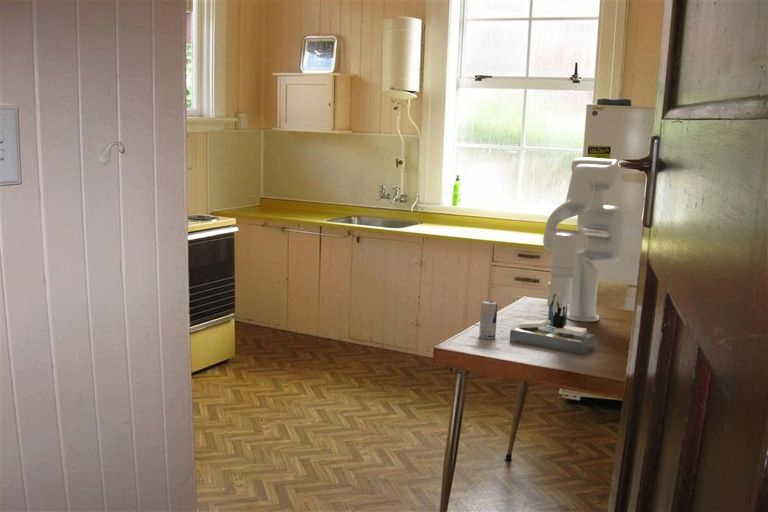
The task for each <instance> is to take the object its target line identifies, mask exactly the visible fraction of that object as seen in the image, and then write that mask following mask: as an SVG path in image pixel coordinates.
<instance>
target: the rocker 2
mask: <svg viewBox="0 0 768 512" xmlns="http://www.w3.org/2000/svg"><path fill="white" fill-rule="evenodd" d="M553 328H554V332H558V333H566V334H574V335H581V336H582V335H583V334H585V333H587V330H588V328H585V327H578V326H577V327H576V326H570V325H569V326H568V325H566V326H564V327H563V328H557V327H553Z"/></svg>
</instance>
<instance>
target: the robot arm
mask: <svg viewBox="0 0 768 512" xmlns="http://www.w3.org/2000/svg"><path fill="white" fill-rule="evenodd" d="M619 161H620V160H618V159H613V158H600V157H599V158H597V157H578V158H574V159H573V160H572V162H571V177H570V181H569V186H568V188H567V195H566V198H565V201H564V202H563V203H562V204H559V206H557V207H556V208H555V209H554V210H553V211H552V213H550V215H549V216H548V218H547V221H546V225H545V229H544V232H543V237H542V238H543V239H542V243H543V247H544V249H546V250H547V251H550V252H552V253H551V263H550V276H551V277H550V281H549V287H548V288H549V289H548V296H547V302H546V303H547V306H548V307H549V306H552V305H553V309H552V311H553V312H554V313H553V315H554V317H553V328H556V327H557V328H563V327H564V322H565V313H566V307H567V308H568V310H567V319H568V320H571V321H576V322H584V323H592V322H593V323H594V322H597V321H599V320H600V315H599V314H597V313H596V309H597V298H598V297H597V296H598V286H599V275H600V274H599V269H598V267H597V265H596V264H595V261H596V262H599V261H600V262H606V263H616V262H618V261H619V260H620V258H621V253H622V246H623V243H622V242H623V231H624V212H623V209H622V208H621V207H619V206H616V205H605V204H604V195H605V191H612V190H614V189H615V187H616V186H617V185H618V184H619V182H620V180H621V178H622V175H623V167H622V168H621V167H619V166H618V162H619ZM576 216H577V224H578V227H579V228H580V229H582V230H586V231H592V232H602V233H603V232H604V233H605V232H606V233H607V234H608V235H605V234H596V233H589V232H588V233H586V232H584V231H581V230H576V229H566V228H557V227H558V225H559V224H561V222H563V221H565V220H566V219H567V220H568V219H570V218H574V217H576ZM568 305H569V307H568Z"/></svg>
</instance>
